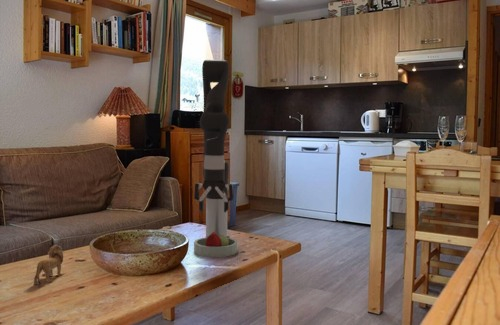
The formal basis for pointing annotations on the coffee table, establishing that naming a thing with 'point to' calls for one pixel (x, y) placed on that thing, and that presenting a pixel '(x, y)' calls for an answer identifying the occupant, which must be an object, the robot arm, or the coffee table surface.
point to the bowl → (215, 248)
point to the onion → (213, 240)
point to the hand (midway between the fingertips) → (213, 211)
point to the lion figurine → (50, 264)
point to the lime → (224, 241)
